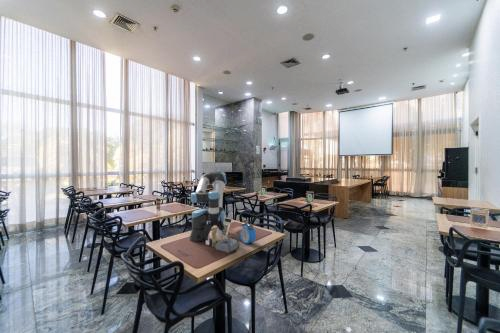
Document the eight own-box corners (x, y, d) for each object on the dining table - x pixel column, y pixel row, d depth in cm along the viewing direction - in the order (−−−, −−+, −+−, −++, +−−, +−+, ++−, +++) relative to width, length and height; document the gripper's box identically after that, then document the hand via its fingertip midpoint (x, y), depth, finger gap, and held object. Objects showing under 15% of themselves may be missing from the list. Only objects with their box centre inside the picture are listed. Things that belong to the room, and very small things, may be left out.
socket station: (215, 249, 153) (215, 228, 152) (225, 243, 163) (225, 224, 162) (233, 254, 144) (233, 232, 144) (243, 248, 154) (243, 227, 154)
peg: (211, 246, 157) (211, 230, 157) (213, 245, 159) (213, 229, 159) (214, 247, 155) (214, 231, 155) (216, 246, 158) (216, 230, 157)
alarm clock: (239, 241, 167) (239, 222, 167) (245, 239, 172) (245, 220, 171) (250, 246, 158) (250, 226, 157) (256, 244, 162) (256, 224, 161)
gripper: (205, 217, 144) (205, 248, 145) (228, 210, 165) (228, 237, 166) (197, 215, 148) (197, 246, 149) (220, 208, 169) (221, 235, 170)
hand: (214, 241), depth 157 cm, fingers open, 13 cm apart
